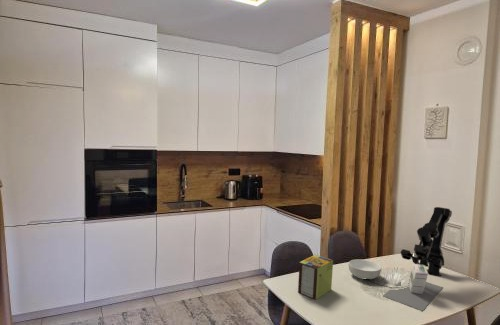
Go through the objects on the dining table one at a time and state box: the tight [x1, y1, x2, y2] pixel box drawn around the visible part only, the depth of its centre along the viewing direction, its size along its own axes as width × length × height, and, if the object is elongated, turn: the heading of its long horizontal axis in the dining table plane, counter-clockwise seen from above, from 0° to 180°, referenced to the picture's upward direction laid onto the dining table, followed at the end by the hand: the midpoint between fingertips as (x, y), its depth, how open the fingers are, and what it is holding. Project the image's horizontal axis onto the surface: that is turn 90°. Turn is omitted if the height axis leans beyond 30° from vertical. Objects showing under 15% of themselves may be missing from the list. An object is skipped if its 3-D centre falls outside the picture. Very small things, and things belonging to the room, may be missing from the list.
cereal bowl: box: [348, 258, 382, 281], centre depth 179 cm, size 17×17×7 cm
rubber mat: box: [382, 281, 444, 312], centre depth 164 cm, size 34×18×1 cm, turn 136°
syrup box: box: [408, 263, 429, 294], centre depth 161 cm, size 6×6×14 cm
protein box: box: [297, 254, 334, 301], centre depth 160 cm, size 10×15×16 cm
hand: (416, 272), depth 163 cm, fingers closed
